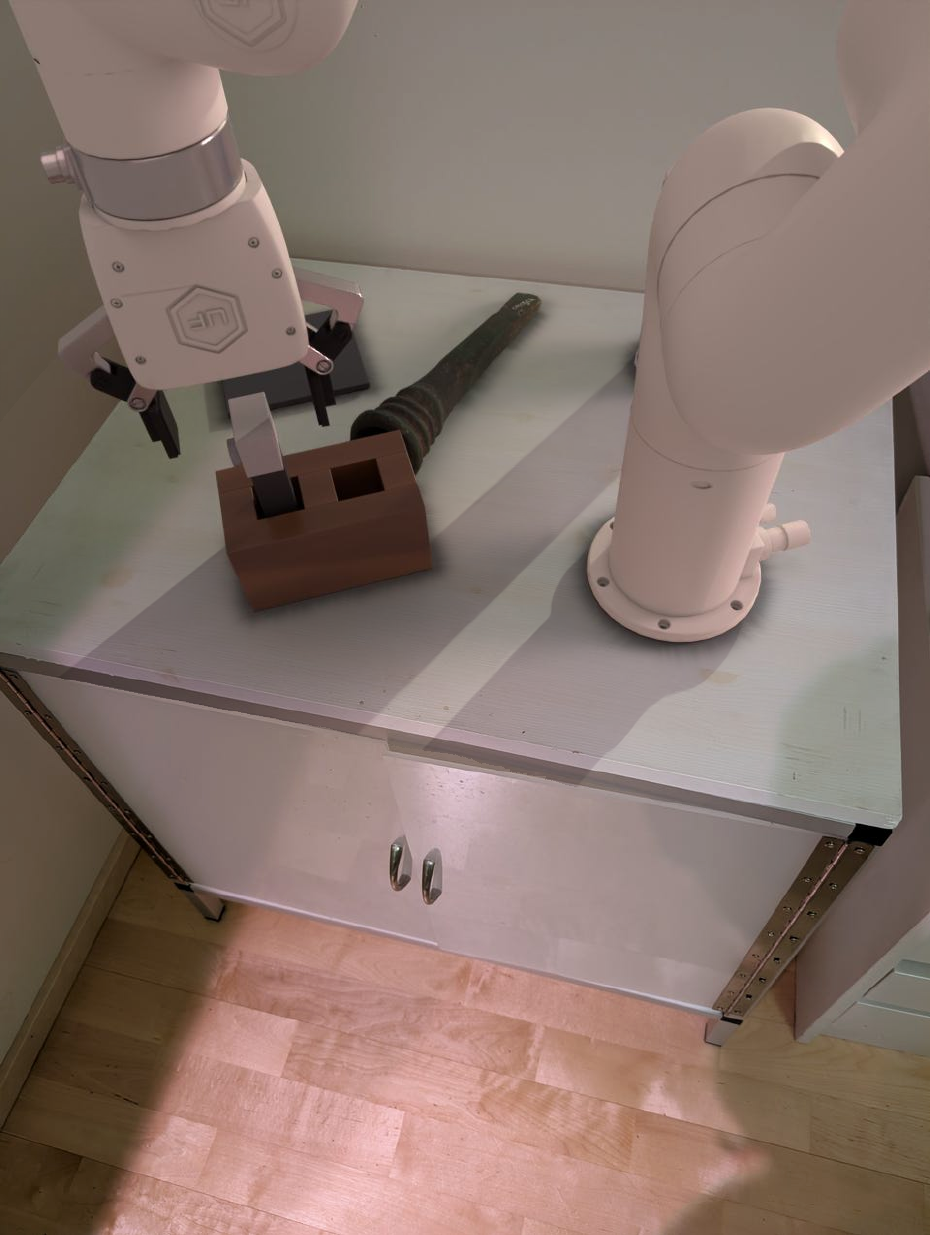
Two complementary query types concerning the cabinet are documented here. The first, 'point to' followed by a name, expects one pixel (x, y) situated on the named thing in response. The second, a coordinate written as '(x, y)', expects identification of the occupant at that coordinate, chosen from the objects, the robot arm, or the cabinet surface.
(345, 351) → the mat
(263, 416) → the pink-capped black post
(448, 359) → the tool
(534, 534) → the cabinet surface
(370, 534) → the holder
